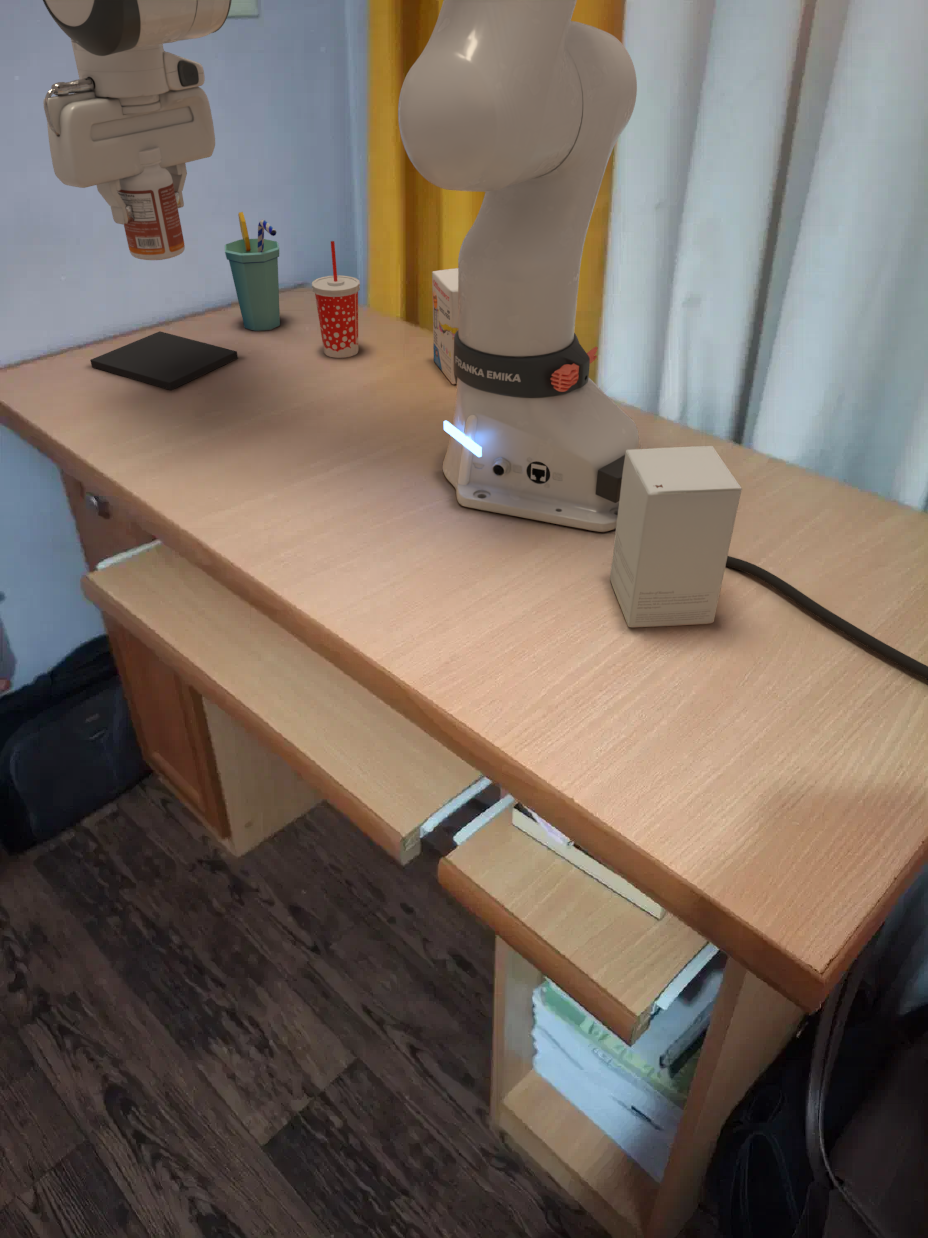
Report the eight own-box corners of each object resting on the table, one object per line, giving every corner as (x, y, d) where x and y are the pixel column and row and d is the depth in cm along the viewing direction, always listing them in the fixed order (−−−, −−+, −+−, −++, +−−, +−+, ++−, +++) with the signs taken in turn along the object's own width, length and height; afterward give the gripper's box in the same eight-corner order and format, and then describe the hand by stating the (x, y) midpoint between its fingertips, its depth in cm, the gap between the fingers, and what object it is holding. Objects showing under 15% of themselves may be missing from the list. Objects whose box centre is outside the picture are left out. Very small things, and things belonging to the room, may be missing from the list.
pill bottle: (171, 242, 109) (152, 139, 102) (195, 254, 105) (176, 147, 98) (121, 252, 105) (98, 146, 99) (143, 264, 102) (121, 155, 95)
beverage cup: (334, 339, 125) (325, 232, 116) (373, 347, 122) (366, 238, 114) (309, 354, 120) (297, 244, 112) (348, 363, 118) (339, 250, 110)
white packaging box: (715, 625, 74) (745, 488, 67) (626, 629, 74) (645, 492, 66) (690, 574, 80) (715, 443, 73) (607, 577, 80) (623, 446, 72)
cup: (312, 335, 126) (300, 220, 117) (260, 346, 122) (244, 229, 113) (268, 306, 135) (255, 198, 126) (219, 317, 132) (201, 205, 122)
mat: (238, 358, 119) (237, 350, 119) (171, 390, 111) (169, 382, 110) (161, 337, 125) (159, 330, 124) (91, 367, 117) (89, 359, 116)
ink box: (431, 360, 119) (430, 268, 112) (492, 352, 121) (495, 261, 114) (451, 385, 112) (451, 289, 105) (515, 377, 115) (519, 282, 107)
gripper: (62, 87, 86) (97, 240, 94) (214, 64, 100) (233, 200, 108) (17, 82, 88) (56, 232, 97) (172, 60, 102) (193, 193, 111)
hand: (150, 214), depth 103 cm, fingers closed on pill bottle, 6 cm apart
